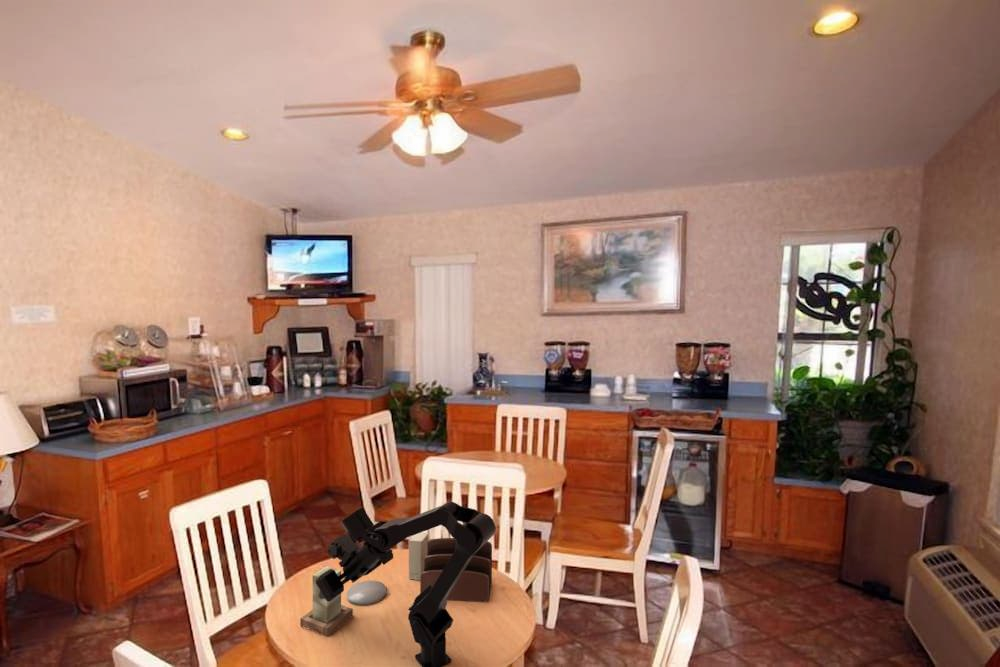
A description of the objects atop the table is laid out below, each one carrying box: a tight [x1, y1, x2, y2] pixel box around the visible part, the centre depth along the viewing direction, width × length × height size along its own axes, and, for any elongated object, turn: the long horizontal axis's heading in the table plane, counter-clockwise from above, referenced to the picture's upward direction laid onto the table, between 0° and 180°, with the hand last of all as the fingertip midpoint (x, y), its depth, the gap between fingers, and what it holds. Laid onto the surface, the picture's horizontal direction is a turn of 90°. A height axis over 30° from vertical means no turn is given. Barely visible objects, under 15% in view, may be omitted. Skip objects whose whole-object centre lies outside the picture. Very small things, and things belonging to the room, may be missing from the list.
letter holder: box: [419, 537, 493, 603], centre depth 143 cm, size 10×20×14 cm, turn 86°
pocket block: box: [299, 604, 354, 637], centre depth 129 cm, size 9×9×2 cm
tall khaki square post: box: [312, 566, 342, 624], centre depth 128 cm, size 5×5×13 cm
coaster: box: [346, 579, 387, 606], centre depth 141 cm, size 11×11×1 cm
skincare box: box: [408, 532, 429, 581], centre depth 152 cm, size 6×4×12 cm
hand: (333, 587), depth 127 cm, fingers open, 9 cm apart
